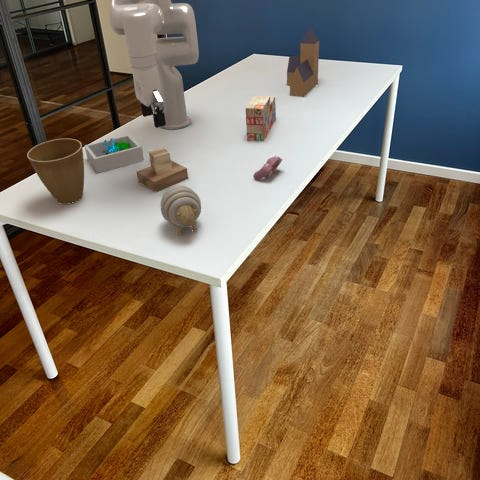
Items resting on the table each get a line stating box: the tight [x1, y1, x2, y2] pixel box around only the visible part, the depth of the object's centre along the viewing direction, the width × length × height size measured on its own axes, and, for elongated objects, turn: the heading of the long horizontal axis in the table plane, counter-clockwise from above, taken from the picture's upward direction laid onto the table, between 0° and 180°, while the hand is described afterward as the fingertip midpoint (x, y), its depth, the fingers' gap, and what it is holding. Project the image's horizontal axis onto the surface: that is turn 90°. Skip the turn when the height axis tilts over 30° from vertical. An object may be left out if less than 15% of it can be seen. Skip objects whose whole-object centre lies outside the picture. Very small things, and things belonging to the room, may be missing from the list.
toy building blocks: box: [286, 26, 320, 98], centre depth 209 cm, size 12×19×25 cm
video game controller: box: [253, 155, 283, 181], centre depth 148 cm, size 10×5×7 cm, turn 149°
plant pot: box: [26, 137, 85, 205], centre depth 140 cm, size 15×15×16 cm
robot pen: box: [83, 134, 145, 174], centre depth 164 cm, size 13×16×5 cm
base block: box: [136, 160, 189, 193], centre depth 150 cm, size 10×12×4 cm
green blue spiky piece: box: [103, 137, 130, 155], centre depth 167 cm, size 12×7×8 cm
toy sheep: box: [160, 184, 202, 236], centre depth 126 cm, size 11×17×11 cm, turn 24°
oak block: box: [147, 146, 172, 175], centre depth 147 cm, size 5×5×6 cm
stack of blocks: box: [245, 95, 277, 142], centre depth 176 cm, size 21×6×12 cm, turn 165°
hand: (154, 120), depth 140 cm, fingers open, 9 cm apart
